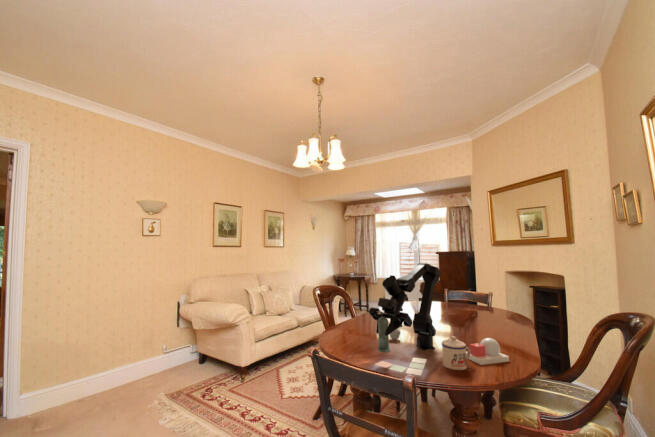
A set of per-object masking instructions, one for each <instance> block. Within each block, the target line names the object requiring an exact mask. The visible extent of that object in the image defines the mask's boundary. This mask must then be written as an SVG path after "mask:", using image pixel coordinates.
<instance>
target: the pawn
mask: <svg viewBox="0 0 655 437" xmlns="http://www.w3.org/2000/svg"><path fill="white" fill-rule="evenodd" d="M388 326H389V320H388V318H385V317H380V318H379V319H378V334H377V335H378V337H377V338H378V347H377V351H378V352H380V353H390V352H391V347H390V345H389V344H390V342H389V340H390V338H389V337H390V336H389V335H388V336H386V335H385V333H386V330H387V328H388Z"/></svg>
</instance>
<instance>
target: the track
mask: <svg viewBox="0 0 655 437" xmlns="http://www.w3.org/2000/svg"><path fill="white" fill-rule="evenodd" d="M427 360H428V359H427V358H421V357H413V358H412V359H411V362H410V363H409V366H408V367H407V366H404V365H403V366H402V365H397V364H394V363H390V362H387V361H384V360H381V361H378V362H377V363H376V362H375V363H374V365H375V366H377V367H381V368H384V369H387V368H388V370H391V371H394V372H400V373H403V372H404V371H405V370H406V372H405V374H410V375H415V376H421V377H422V373H423V371H424V369H425V366H426V363H427Z"/></svg>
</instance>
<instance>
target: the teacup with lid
mask: <svg viewBox="0 0 655 437" xmlns="http://www.w3.org/2000/svg"><path fill="white" fill-rule="evenodd" d="M441 348H442V349H441V350H442V365H443V367H445V368H447V369H449V370H454V371H456V370H457V371H464V370H468V369H467V368H468V367H467V366H468V363H467V360H469V359H468V358H469V357H470V347H468V346H467V345H466V343H465V342H463V341H460V340H459V339H457V337H456V336H454V335H452V336H451V335H450V338H447V339H446V340H442V342H441ZM466 351H467V355H466Z"/></svg>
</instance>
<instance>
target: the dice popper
mask: <svg viewBox="0 0 655 437" xmlns="http://www.w3.org/2000/svg"><path fill="white" fill-rule="evenodd" d="M469 349H470V357H469V358H468V359H467V360H470V361H472V362H474V363H476V364H478V365H480V366H483V365H492V364H499V363H501V364H502V363H507V362H510V357H509V356H510V355H506V354H504V353H501V345H500V343H499V342H498V341H497V340H495V339H494V338H492V337H485V338H483V339H482V340H481V341H480V343H478V342H477V343H476V342H475V343H470V344H469ZM466 355H467V350H466Z"/></svg>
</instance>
